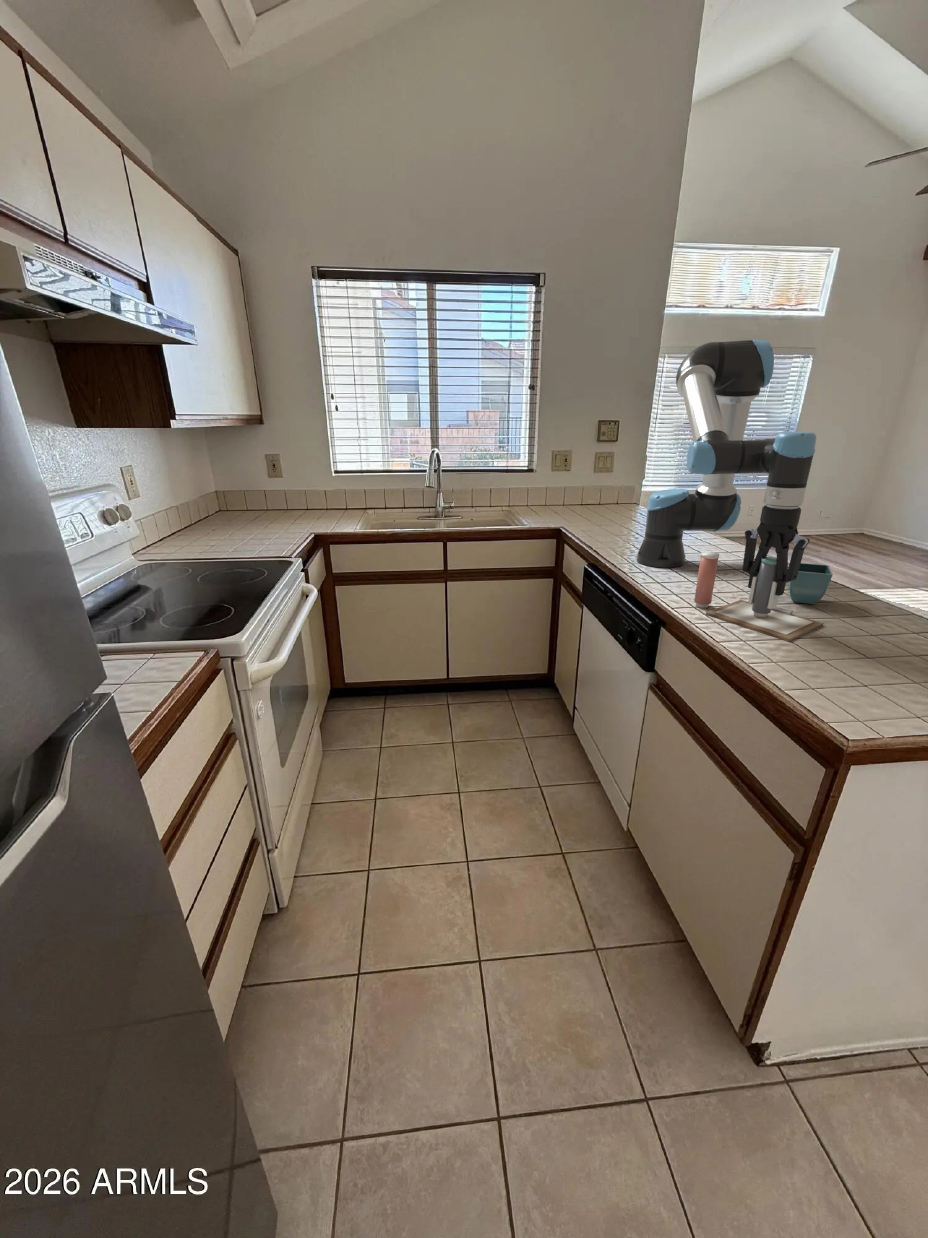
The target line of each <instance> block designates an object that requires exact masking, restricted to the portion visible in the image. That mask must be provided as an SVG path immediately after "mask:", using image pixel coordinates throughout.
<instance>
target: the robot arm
mask: <svg viewBox="0 0 928 1238" xmlns="http://www.w3.org/2000/svg"><path fill="white" fill-rule="evenodd" d="M774 355H775V354H774V349H773V347H772V345H771V343H770V342H769V341H767V340H762V339H761V340H760V339H746V340H745V339H744V340H743V339H742V340H729V341H728V340H727V341H711V342H706V343H704V344H701V345H699V346H697V347H695V348H694V349H693V350H691V351H690V352H689V353H688V354H687V355H686V356H685V357H684V358H683V360H682V361H681V363H680V365H679V367H678V369H677V371H676V377H675V384H676V390H677V392H678V394H679V395H680V396H681V397H683V402H684V406H685V409H686V415H687V419H688V424H689V428H690V431H691V432H690V433H691V437H692V441H693V442H691V443H690V444H689V447H688V450H687V454H686V468H687V470H688V472H689V473H690V474H695V475H703V477H702V481H701V483H700V484H698V485H697V486H696V488H695V493H690V492H689V490H688V489H686V488H668V489H663V490H658V491H655V492H653V493H652V494H650V496H649V498H648V503H647V507H646V509H647V510H646V511H647V512H646V522H645V532H644V537H643V540H642V543H641V545H640V547H639V550H638V552H637V553H636V554H637V555H636V561H637V563H639V564H641V565H643V566H644V565H645V566H647V567H653V568H679V567H681V566H684V565H685V563H686V553H685V548H684V542H683V536H684V532H689V531H690V532H696V531H697V532H718V531H719V532H723V531H728V530H730V529H731V528H733V526H734V525H735V524H736V522H737V520H738V518H739V516H740V514H741V513H740V512H741V508H742V507H741V505H742V498H741V496H740V494H738V493H737V491H738V489H737V488H736V486H735V485H734V481H735V477H736V476H735V475H736V474H739V475H742V474H743V475H744V474H747V475H748V474H751V475H752V474H755V475H756V474H767V475H768V476H767V481H766V488H765V493H764V498H763V504H764V506H762V508H761V513H760V518H759V521H760V522H759V525H758V526H757V528H755V529H753V528H752V529H749V530H746V531H744V537H745V547H744V554H743V562H742V567H741V569H742V572H744V573H745V572H746V573H747V574H748V575H749V578H748V583H747V588H748V589H750V592H749V596H748V601H747V602H748V603H753V601H754V596H755V590H756V585H757V580H758V575H759V570H760V564H761V558H764V557H768V554H769V552H770V550H771V548H774V549H775V554H776V558H777V580H775V581H773V583H772V588H771V593H770V598H769V603H768V607H767V608H769V609H772V608H774V607H778V604H779V603H778V602H779V600H780V599H779V598H780V596H782V595H784V593H785V588H786V584H787V583H788V582H790V581H793V580H796V578H797V575H798V571H799V568H800V564H801V563H802V559H803V557H804V552H805V549H806V548H807V546H808V544H809V543H810V542H811V541H810V538H808V537H802V535H799V531H798V526H799V522H800V517H801V514H802V513H801V512H802V508H801V506H803V505H804V500H805V494H806V491H807V490H806V489H807V485H808V479H809V476H810V472H811V468H812V467H811V466H812V463H813V457H814V454H815V453H816V441H817V435H816V433H814V432H812V431H784V432H779V433H778V434H777V435H776V437H775V438H764V439H745V440H744V436H745V432H746V429H747V428H746V427H747V423H748V418H749V414H750V409H751V405H752V402H753V400H755V399H756V398H757V397H758V396H760V392H761V388H765V387H767V386H768V385H769V384H770V382H771V380H772V378H773V373H774V370H775V369H774V368H775V356H774ZM758 537H759V538H760V543H759V546H758V550H757V553H756V549H757V544H758V543H757V542H758ZM793 541H794V542H793ZM792 542H793V546H794V547H793V548H792V553H791V556H790V560H789V550H790V544H791V543H792Z"/></svg>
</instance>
